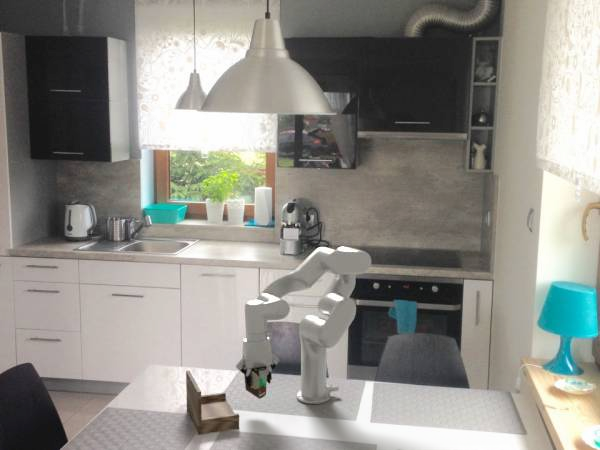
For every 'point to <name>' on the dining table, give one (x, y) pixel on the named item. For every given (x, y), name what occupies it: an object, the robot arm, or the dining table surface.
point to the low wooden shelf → (209, 409)
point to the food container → (258, 381)
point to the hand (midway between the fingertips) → (258, 383)
